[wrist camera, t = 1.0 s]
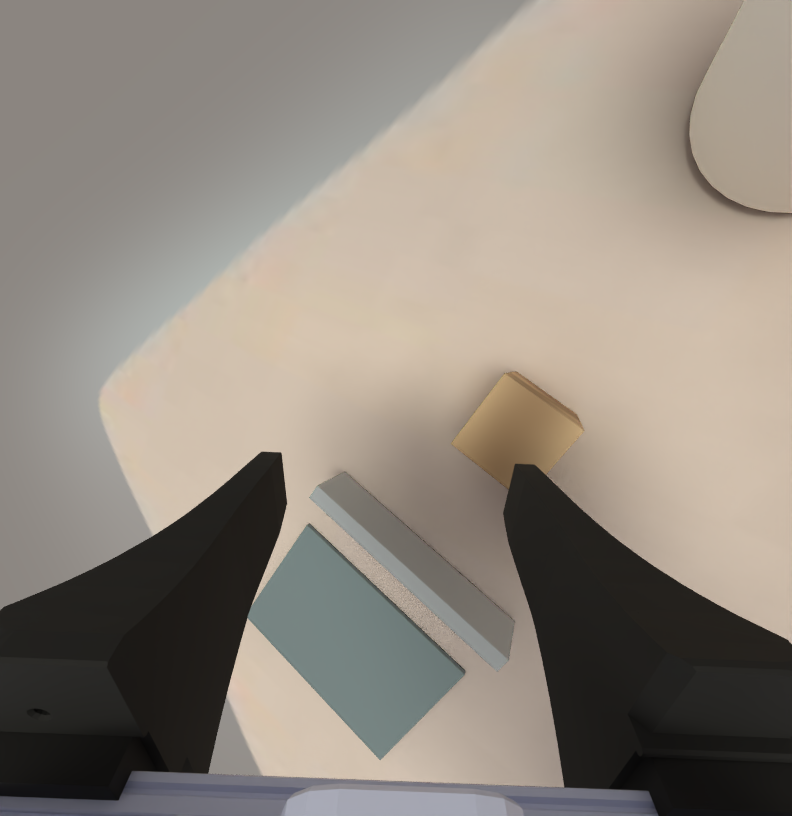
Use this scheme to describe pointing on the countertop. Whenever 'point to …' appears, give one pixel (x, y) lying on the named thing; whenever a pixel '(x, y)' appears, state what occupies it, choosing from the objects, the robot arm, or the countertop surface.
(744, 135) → the alcohol
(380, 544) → the low wall
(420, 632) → the mat
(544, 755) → the countertop surface
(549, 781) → the countertop surface
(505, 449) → the oak block
